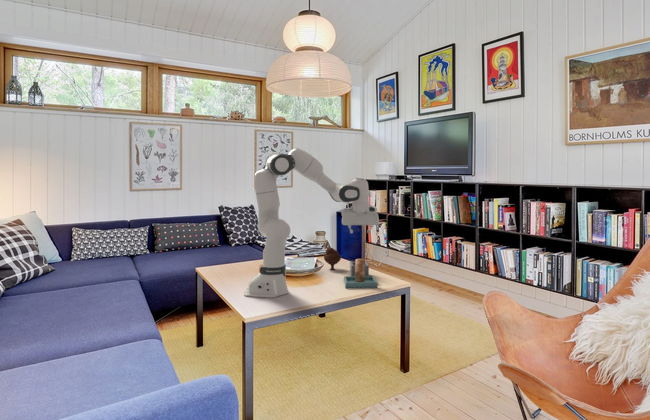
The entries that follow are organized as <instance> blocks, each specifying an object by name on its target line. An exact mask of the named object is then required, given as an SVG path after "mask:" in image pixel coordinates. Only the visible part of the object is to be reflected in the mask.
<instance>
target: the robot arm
mask: <svg viewBox="0 0 650 420" xmlns="http://www.w3.org/2000/svg"><path fill="white" fill-rule="evenodd" d="M292 170H294V171H296V172H297V173H298V174H300V175H301V176H302V177H305V178H306V179H307V180H310V181H313V182H314V183H316V184H317V185H319V186H320V187H321V188H323V190H325V191H326V192H328V194H329V196H330V197H331V199H332V200H333V201H334V202H337V203H350V202H352V203H351V204H352V206H351V207H349V208H348V207H347V208H346V207H345V208H343V209H341V211H340V214H341V216H342V217H341V225H343V226H347V227H348V229H349V233H350V234H354V230H353V229H352V226H369V228H368V229H367V231H366V232H367V234H371V230H372V229H373V226H378V225H379V223H380V219H379V213H378V212H377V211H378V208H377V207H376V206H373V205H371V204H370V203H369V194H370V193H369V192H370V191H369V189H370V188H369V182H368V181H367V179H365V178H359V177H355V178H353V179H352V180H351V181H349V182H347V183H345V184H342V183H337V182H335V181H334V180H332V179H331V178H330V177H329V176H327V175H326V174H325V172H324V166H323V164H322V163H321V162H320V161H319V160H318V159H317V158H315V157H314V156H313V155H312V154H311V153H309V152H307V151H305V150H303V149H301V148H299V147H296V148H295V147H294V148H293V149H291V150H290V151H289V152H288V154H287V153H280V152H276V153H272V154H270V155H269V156H268V157H267V159H266V160H265V164H264V166H263V168H262V169H259V170H257V171H256V172H255V173H254V177H253V178H254V179H253V180H254V183H253V184H254V192H255V197H256V201H257V209H258V211H257V212H258V222H257V230H258V232H259V233H260V235H261V236H263V237H265V246H264V249H263V250H262V263H263V264H260V265H259V270H258V271H259V273H257V274H256V275H255V276H254V277H253V278H252V279H251V280H250V281H249V283H248V288H246V289H245V290H244V292H243V295H244V297H252V298H254V297H255V298H276V297H279V296H280V297H281V296H283V295H286V294H288V293H289V289H288V285H287V280H286V278H287V277H286V275H287V267H286V261H285V260H286V259H285V258H286V256H285V255H286V253H285V252H286V245H287V240H288V238H289V236H290V235H291V226H290V225H289V224H288V222H286V221H285V220H284V219H282V218H279V209H280V206H281V203H280V197H279V191H278V186H277V178H278V176H285V175H287V174H289V173H290V172H291V171H292ZM369 204H370V205H369Z"/></svg>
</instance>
